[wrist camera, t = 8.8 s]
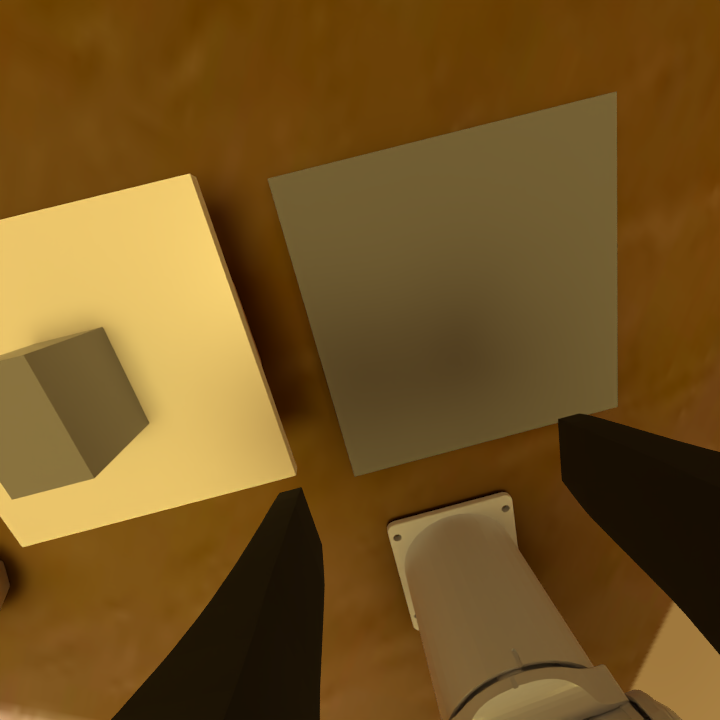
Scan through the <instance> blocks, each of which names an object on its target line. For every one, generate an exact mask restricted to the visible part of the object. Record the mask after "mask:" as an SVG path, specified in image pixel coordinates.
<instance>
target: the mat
mask: <svg viewBox="0 0 720 720" xmlns="http://www.w3.org/2000/svg"><path fill="white" fill-rule="evenodd" d="M268 182H269V185H270V189H271V192H272V196H273V199H274V203H275V206H276V209H277V213H278V216H279V220H280V223H281V226H282V230H283V233H284V237H285V240H286V244H287V247H288V250H289V254H290V257H291V261H292V264H293V267H294V271H295V274H296V278H297V281H298V285H299V288H300V291H301V295H302V298H303V302H304V305H305V308H306V312H307V315H308V319H309V322H310V326H311V329H312V332H313V336H314V339H315V343H316V346H317V349H318V353H319V356H320V360H321V363H322V367H323V370H324V373H325V377H326V380H327V384H328V387H329V390H330V394H331V397H332V401H333V404H334V408H335V411H336V414H337V418H338V421H339V425H340V428H341V431H342V435H343V438H344V442H345V445H346V449H347V452H348V455H349V459H350V462H351V466H352V469H353V472H354V476H359V475H363V474H367V473H370V472H374V471H378V470H382V469H385V468H389V467H393V466H397V465H400V464H404V463H408V462H412V461H415V460H419V459H423V458H427V457H430V456H434V455H438V454H442V453H445V452H449V451H453V450H457V449H460V448H464V447H468V446H472V445H476V444H479V443H483V442H487V441H491V440H494V439H498V438H502V437H506V436H509V435H513V434H517V433H521V432H524V431H528V430H532V429H536V428H539V427H543V426H547V425H551V424H554V423H558V419H560V418H564V417H567V416H571V415H575V414H579V413H581V414H585V415H588V414H592V413H596V412H600V411H603V410H607V409H611V408H615V407H618V378H617V92H613V93H609V94H605V95H601V96H597V97H593V98H589V99H585V100H581V101H577V102H573V103H569V104H565V105H561V106H557V107H553V108H549V109H545V110H541V111H537V112H533V113H529V114H525V115H521V116H517V117H513V118H509V119H505V120H501V121H497V122H493V123H489V124H485V125H481V126H477V127H473V128H469V129H465V130H461V131H457V132H453V133H449V134H445V135H441V136H437V137H433V138H429V139H425V140H421V141H417V142H413V143H409V144H405V145H401V146H397V147H393V148H389V149H385V150H381V151H377V152H373V153H369V154H365V155H361V156H357V157H353V158H349V159H345V160H341V161H337V162H333V163H329V164H325V165H321V166H317V167H313V168H309V169H305V170H301V171H297V172H293V173H289V174H285V175H281V176H277V177H273V178H269V179H268Z"/></svg>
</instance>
